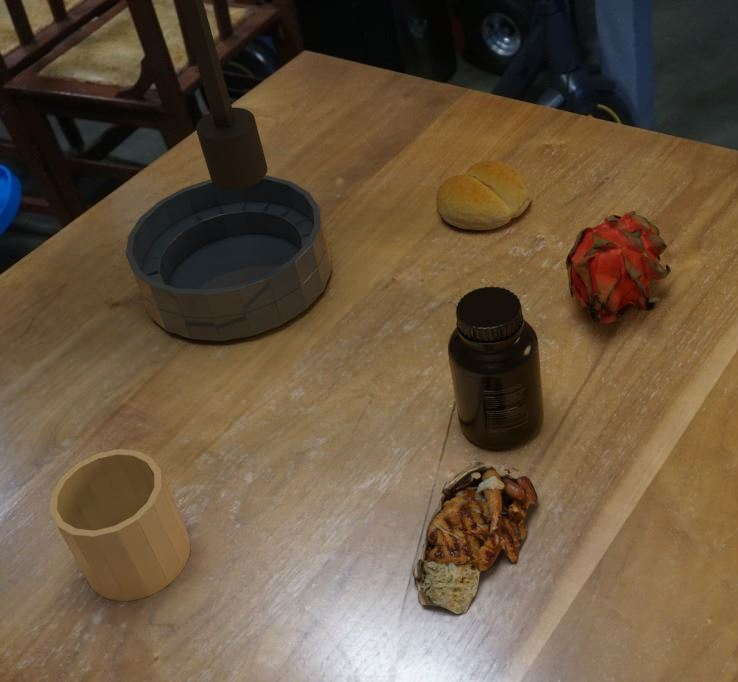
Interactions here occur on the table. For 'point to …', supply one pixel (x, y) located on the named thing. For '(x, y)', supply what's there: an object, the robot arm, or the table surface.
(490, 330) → the supplement bottle
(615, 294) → the dragon fruit
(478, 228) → the bread roll
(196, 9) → the long black rod
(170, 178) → the table surface
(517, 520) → the brown food piece
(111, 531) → the crock
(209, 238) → the bowl
